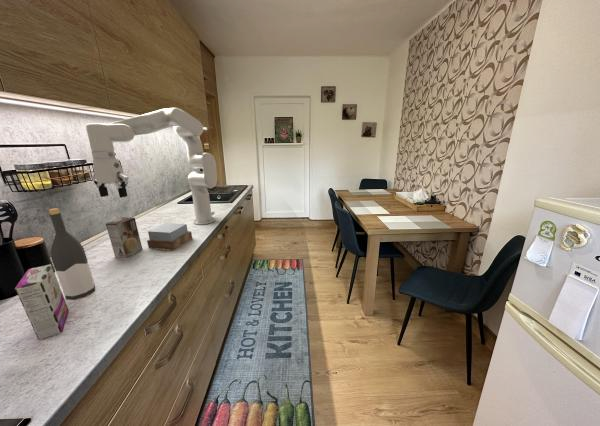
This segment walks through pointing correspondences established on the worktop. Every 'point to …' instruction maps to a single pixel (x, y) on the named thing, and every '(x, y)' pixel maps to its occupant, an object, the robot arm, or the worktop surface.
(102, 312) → the worktop surface
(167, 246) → the tower base slab
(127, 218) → the coffee box
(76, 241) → the wine bottle
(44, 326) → the candy bar box
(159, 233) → the tower top slab
